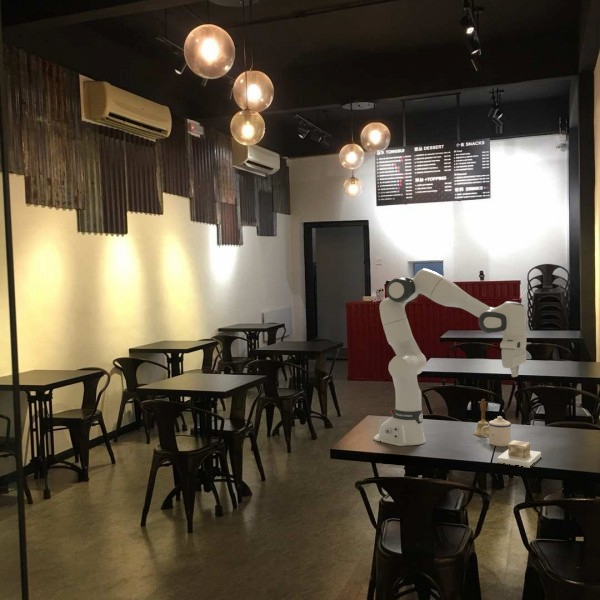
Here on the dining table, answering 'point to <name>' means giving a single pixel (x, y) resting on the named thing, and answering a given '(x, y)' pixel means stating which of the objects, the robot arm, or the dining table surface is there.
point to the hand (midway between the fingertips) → (514, 376)
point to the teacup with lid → (498, 432)
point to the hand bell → (482, 421)
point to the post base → (519, 459)
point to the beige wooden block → (519, 449)
